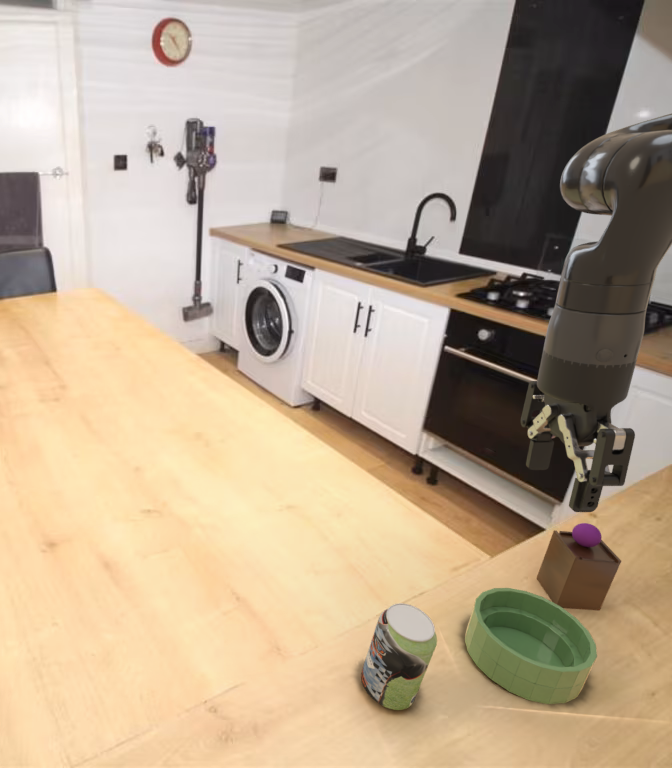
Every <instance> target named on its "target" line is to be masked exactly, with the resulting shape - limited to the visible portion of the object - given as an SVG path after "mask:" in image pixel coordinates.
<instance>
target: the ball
mask: <svg viewBox="0 0 672 768" xmlns="http://www.w3.org/2000/svg"><path fill="white" fill-rule="evenodd" d="M571 532H572V536H573V539H574V540H575V541H576V542H577V543H578V544H579V545H581V546H584V547H594V546H596V545H598V544H599V543H600V541H601V540H602V538H603V537H602V533H601V531H600V529H599V528H598V527H597V526H596V525H593V524H592V523H588V522H582V523H578V524H576V525H575V526H574V527H572V530H571Z"/></svg>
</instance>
